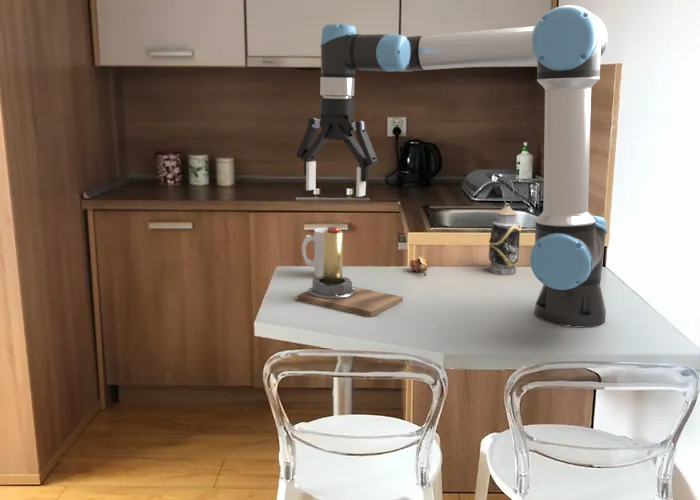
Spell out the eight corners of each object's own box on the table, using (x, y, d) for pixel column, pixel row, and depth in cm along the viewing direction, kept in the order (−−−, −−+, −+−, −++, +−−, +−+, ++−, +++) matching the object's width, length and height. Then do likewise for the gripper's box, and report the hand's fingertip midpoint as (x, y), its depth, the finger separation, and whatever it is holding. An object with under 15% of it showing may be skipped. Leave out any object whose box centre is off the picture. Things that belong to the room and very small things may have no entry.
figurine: (399, 268, 209) (400, 252, 208) (416, 266, 211) (416, 250, 210) (426, 280, 197) (427, 264, 196) (443, 278, 199) (444, 261, 198)
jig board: (402, 301, 178) (402, 296, 178) (371, 316, 167) (371, 311, 166) (330, 287, 189) (331, 282, 188) (296, 300, 177) (296, 295, 177)
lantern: (522, 275, 204) (530, 181, 199) (494, 276, 203) (501, 182, 197) (509, 267, 213) (516, 177, 207) (481, 268, 211) (488, 177, 205)
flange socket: (364, 291, 182) (364, 279, 181) (338, 302, 173) (338, 289, 172) (325, 283, 187) (326, 272, 187) (298, 293, 178) (299, 281, 178)
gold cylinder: (345, 290, 181) (346, 227, 177) (334, 294, 177) (336, 230, 174) (329, 286, 183) (331, 225, 179) (319, 291, 179) (320, 227, 176)
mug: (336, 271, 203) (337, 227, 200) (342, 278, 197) (343, 232, 194) (298, 273, 200) (299, 228, 198) (303, 280, 194) (304, 233, 191)
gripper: (394, 99, 166) (391, 196, 171) (301, 95, 179) (300, 185, 184) (377, 100, 160) (374, 200, 165) (281, 95, 173) (281, 189, 178)
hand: (335, 192), depth 175 cm, fingers open, 13 cm apart
